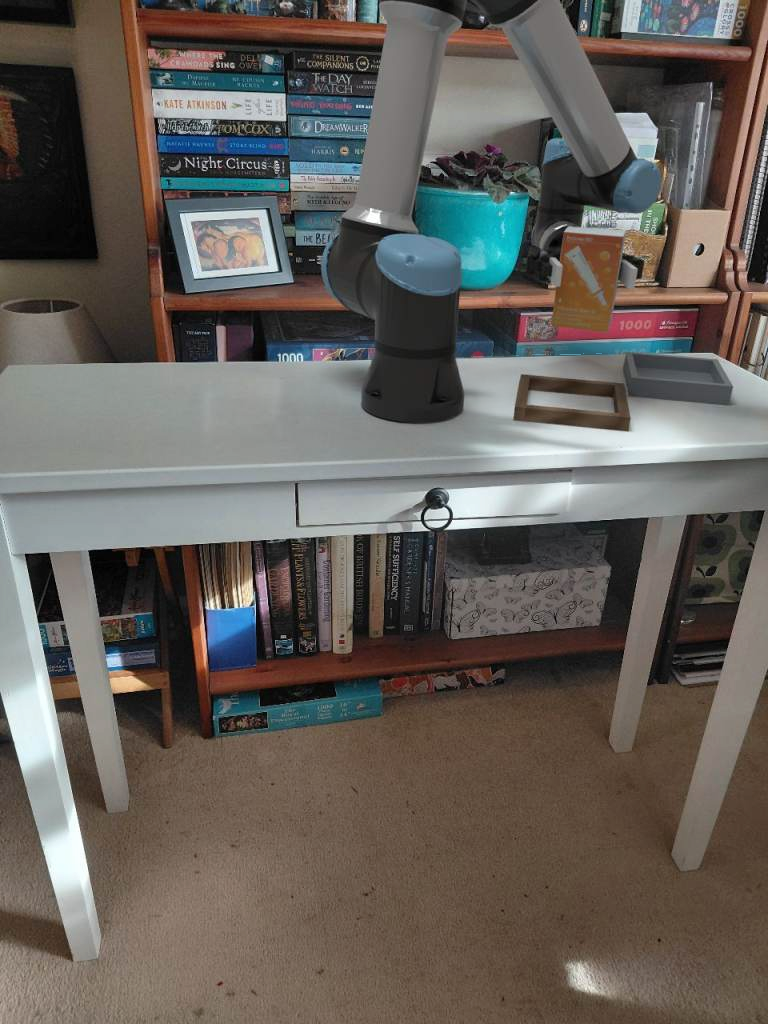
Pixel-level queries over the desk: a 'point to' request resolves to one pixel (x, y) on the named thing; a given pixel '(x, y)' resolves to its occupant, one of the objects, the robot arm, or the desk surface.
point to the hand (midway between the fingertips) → (596, 277)
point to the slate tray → (676, 378)
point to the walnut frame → (573, 416)
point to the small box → (588, 278)
